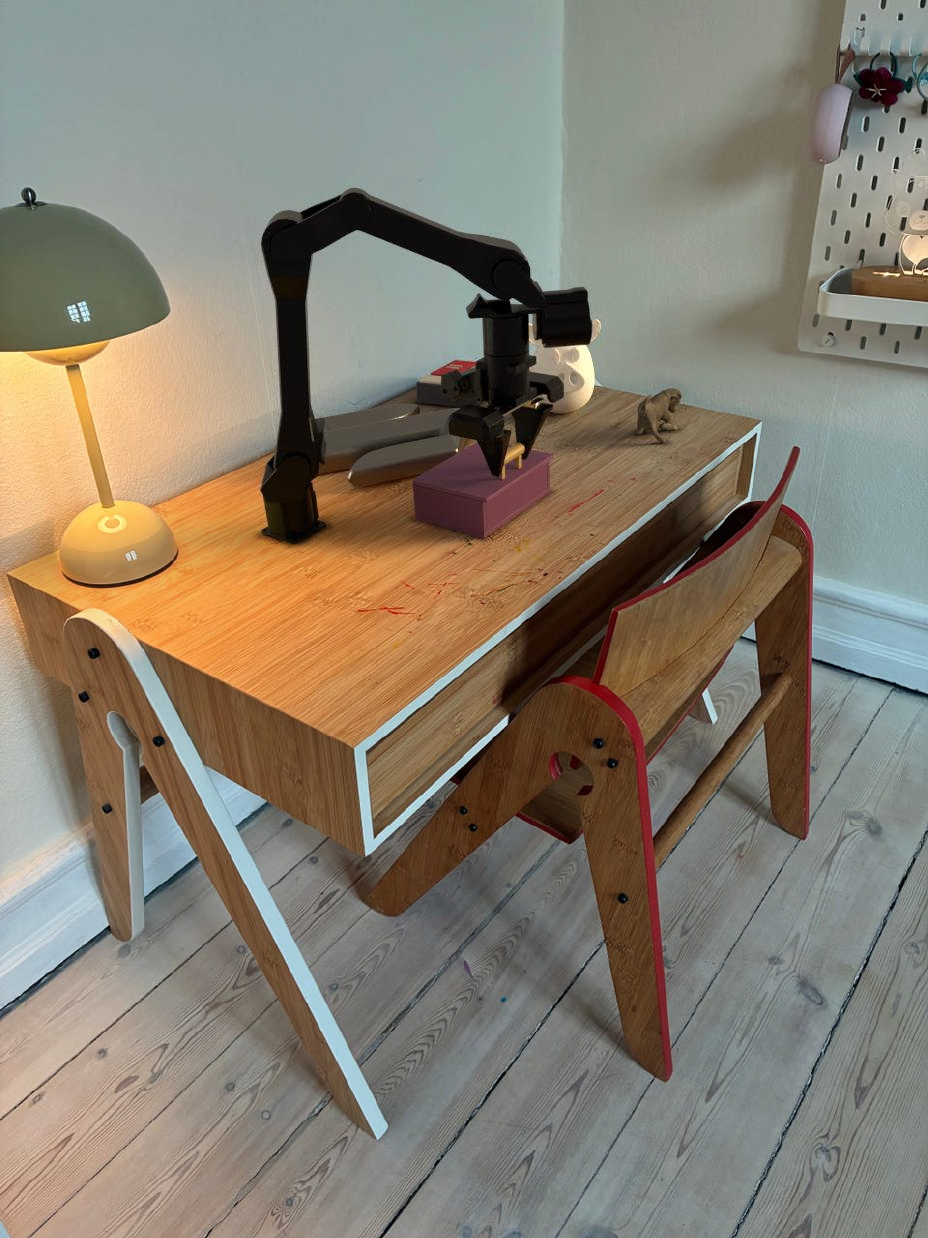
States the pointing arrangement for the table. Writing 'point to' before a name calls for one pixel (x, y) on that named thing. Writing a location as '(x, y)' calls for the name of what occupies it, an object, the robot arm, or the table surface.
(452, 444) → the emblem
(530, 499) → the maroon open box
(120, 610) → the table surface
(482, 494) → the file box lid
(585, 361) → the piggy bank
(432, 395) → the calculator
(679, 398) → the brown monkey figurine
